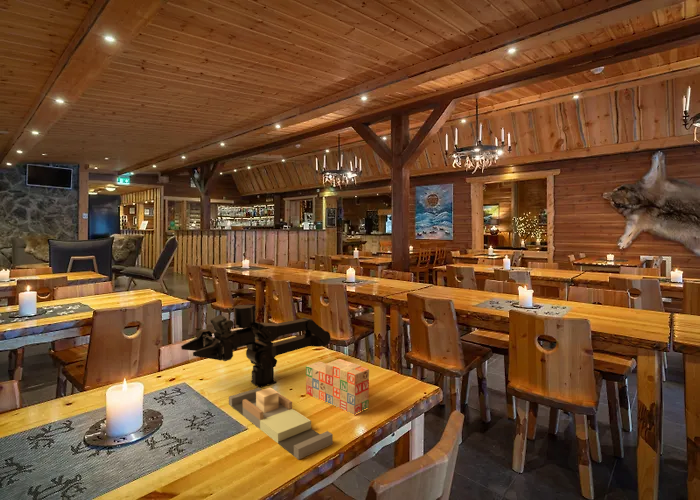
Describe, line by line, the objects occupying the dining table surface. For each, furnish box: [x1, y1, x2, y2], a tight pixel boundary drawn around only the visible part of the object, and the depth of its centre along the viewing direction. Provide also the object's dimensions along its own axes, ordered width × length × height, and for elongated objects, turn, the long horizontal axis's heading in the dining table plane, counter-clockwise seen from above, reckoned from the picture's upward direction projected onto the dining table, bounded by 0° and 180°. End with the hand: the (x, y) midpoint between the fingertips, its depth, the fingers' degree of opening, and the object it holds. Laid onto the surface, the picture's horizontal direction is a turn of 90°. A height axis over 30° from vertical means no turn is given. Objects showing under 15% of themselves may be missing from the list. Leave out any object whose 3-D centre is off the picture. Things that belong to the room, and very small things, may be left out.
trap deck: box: [228, 387, 334, 460], centre depth 108 cm, size 10×37×4 cm, turn 41°
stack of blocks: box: [305, 358, 370, 416], centre depth 121 cm, size 21×6×12 cm, turn 47°
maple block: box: [256, 387, 279, 413], centre depth 111 cm, size 4×4×4 cm
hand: (187, 350), depth 117 cm, fingers open, 9 cm apart
